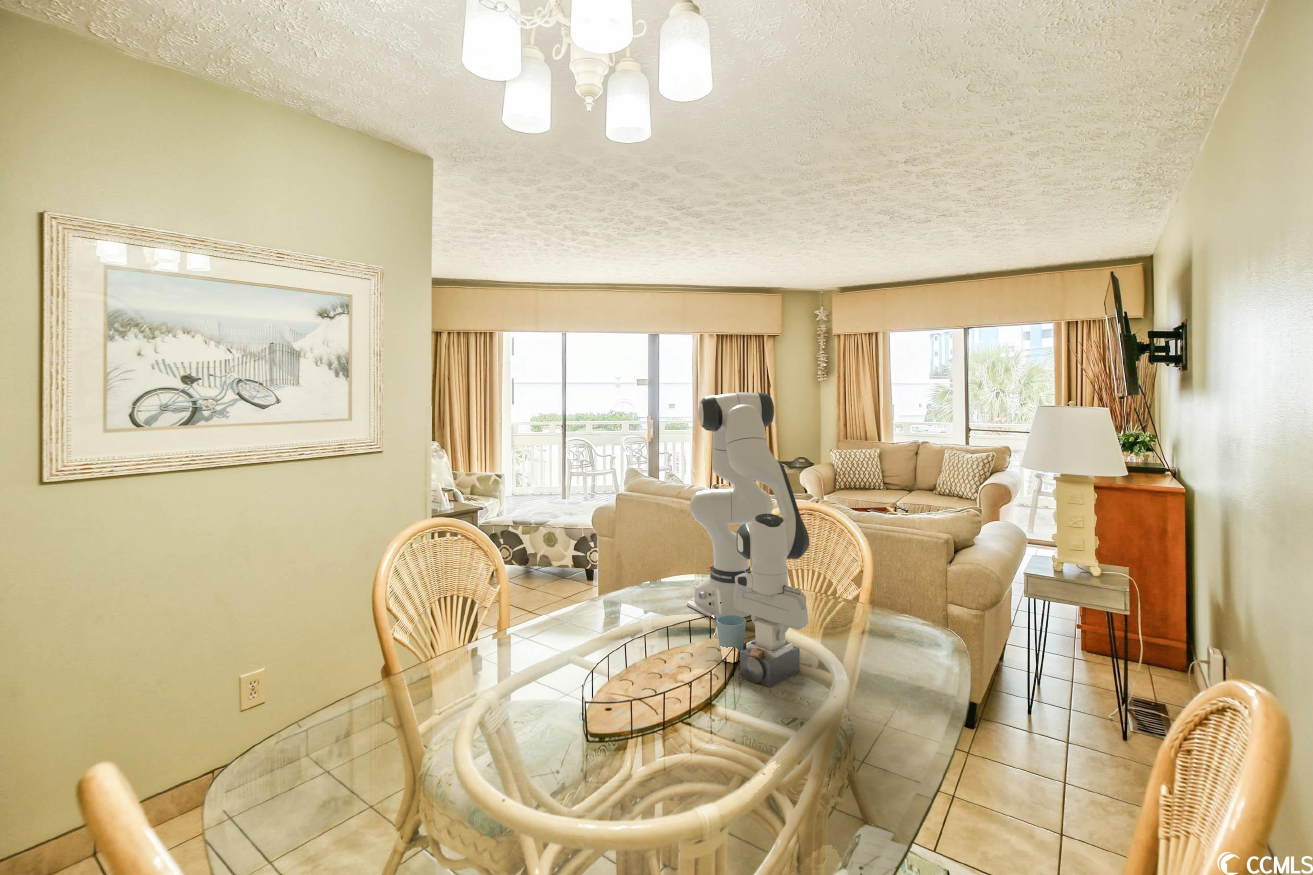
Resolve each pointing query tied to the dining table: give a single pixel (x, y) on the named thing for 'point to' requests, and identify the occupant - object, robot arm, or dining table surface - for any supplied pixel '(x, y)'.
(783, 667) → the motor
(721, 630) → the cup
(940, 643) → the dining table surface
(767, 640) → the pump block
